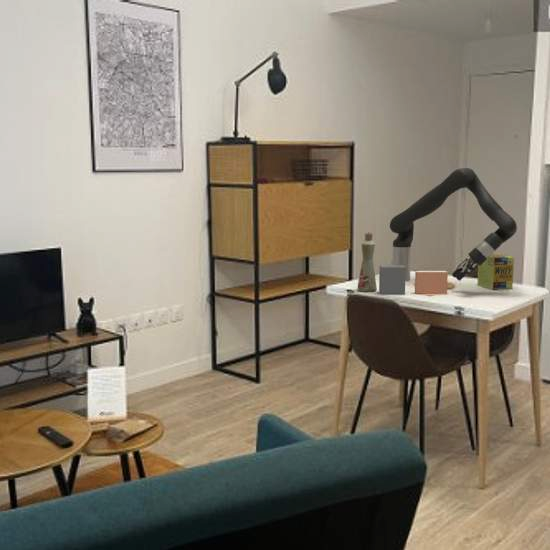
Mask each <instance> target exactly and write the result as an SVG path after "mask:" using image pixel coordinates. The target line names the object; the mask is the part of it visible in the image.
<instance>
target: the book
mask: <svg viewBox="0 0 550 550" xmlns="http://www.w3.org/2000/svg"><path fill="white" fill-rule="evenodd" d="M448 273H449V272H448V271H447V270H415V274H414V275H415V277H414V293H415V294H417V295H422V294H444V295H446V294H448Z"/></svg>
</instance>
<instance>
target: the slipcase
mask: <svg viewBox="0 0 550 550" xmlns="http://www.w3.org/2000/svg"><path fill="white" fill-rule="evenodd" d="M378 275H379V276H378V277H379V279H378V283H379V284H378V292H380V293H379V295H383V296H385V295H387V296H388V295H392V296H395V295H396V296H398V295H401V296H402V295H403V296H405V295H406V280H405V278H406V267H405V266H404V265H391V264H390V265H389V264H388V265H386V264H385V265H384V264H383V265H379V274H378Z"/></svg>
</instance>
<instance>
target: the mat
mask: <svg viewBox="0 0 550 550" xmlns="http://www.w3.org/2000/svg"><path fill="white" fill-rule="evenodd" d="M421 295H422V296H426V297H434V296H435V295H436V296H442V295H443V294H421ZM443 296H444V295H443Z"/></svg>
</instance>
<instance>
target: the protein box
mask: <svg viewBox="0 0 550 550" xmlns="http://www.w3.org/2000/svg"><path fill="white" fill-rule="evenodd" d="M514 262H515V257H514V256H509V255H506V254H502V253H493V254H492V255H491V256H490V257H489V258H488V259H487V260H486V261H485V262H484V263H483V264H481V265H478V264H477V286H479V287H483V288H485V287H486V289H488V288H489V289H488V290H491V289H492V290H491V291H499V290H498V289H506V290H513V282H514V266H515V265H514V264H515V263H514Z"/></svg>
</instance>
